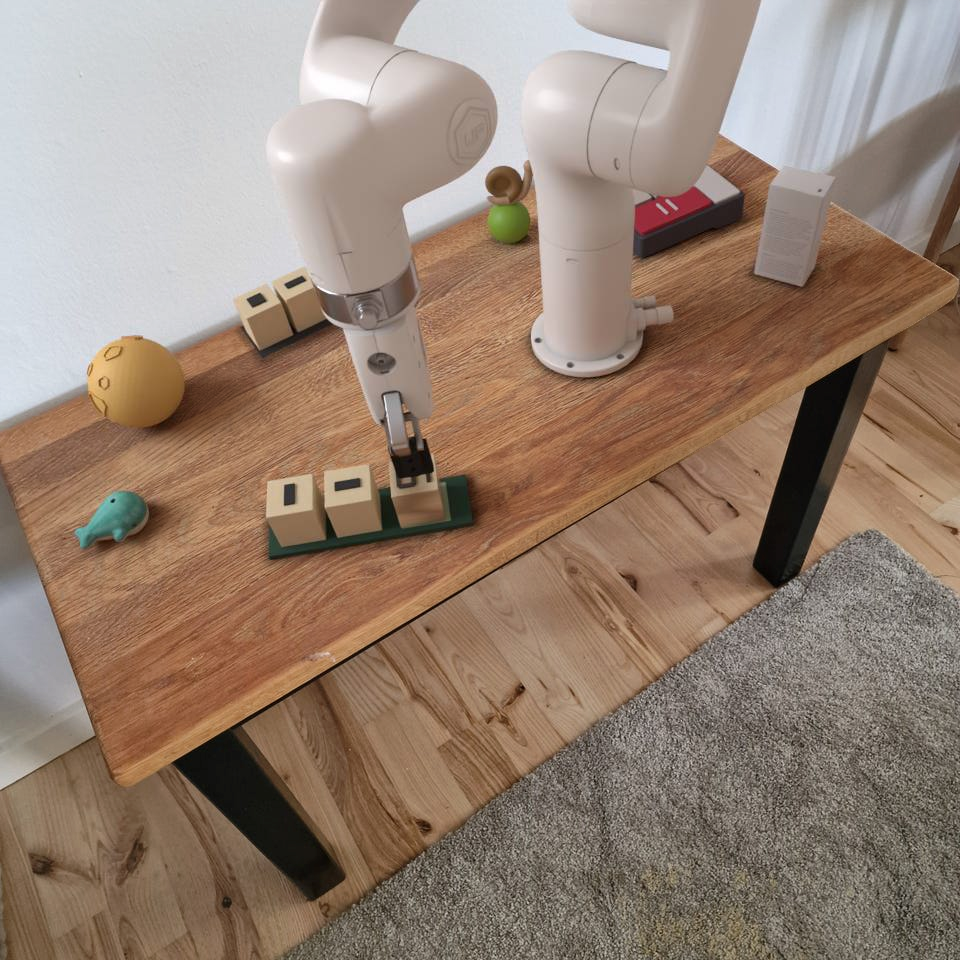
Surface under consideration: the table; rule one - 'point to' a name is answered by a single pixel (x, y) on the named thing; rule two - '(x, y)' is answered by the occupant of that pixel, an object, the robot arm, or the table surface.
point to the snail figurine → (508, 202)
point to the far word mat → (281, 312)
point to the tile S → (417, 497)
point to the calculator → (685, 212)
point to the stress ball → (135, 382)
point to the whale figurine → (115, 519)
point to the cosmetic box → (793, 225)
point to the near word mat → (388, 522)
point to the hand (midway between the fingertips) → (411, 430)
